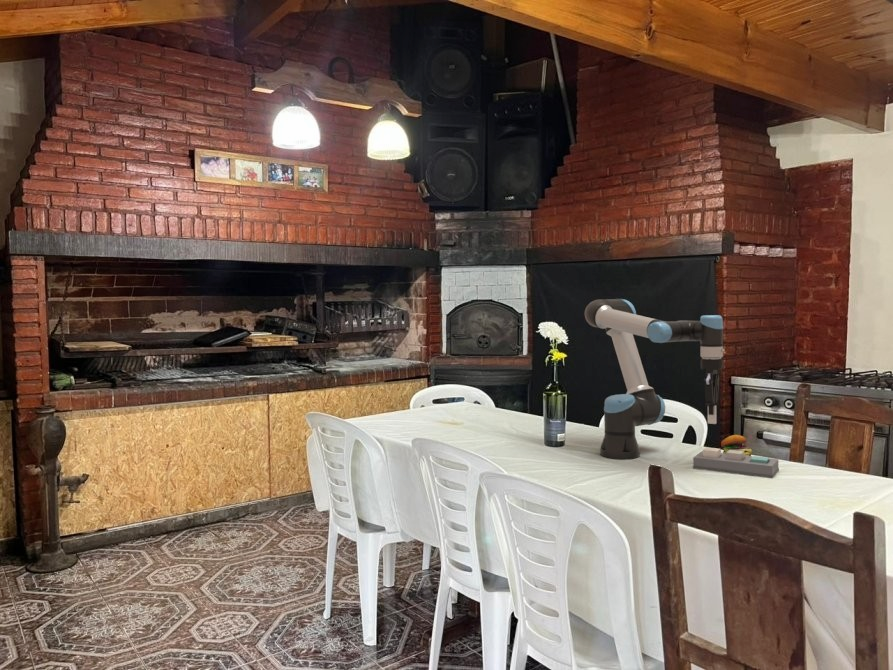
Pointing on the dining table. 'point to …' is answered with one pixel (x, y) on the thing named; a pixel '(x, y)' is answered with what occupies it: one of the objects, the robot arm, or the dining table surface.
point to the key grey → (735, 455)
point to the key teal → (760, 459)
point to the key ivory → (711, 452)
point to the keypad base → (736, 465)
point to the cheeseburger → (736, 444)
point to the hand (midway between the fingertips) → (712, 423)
